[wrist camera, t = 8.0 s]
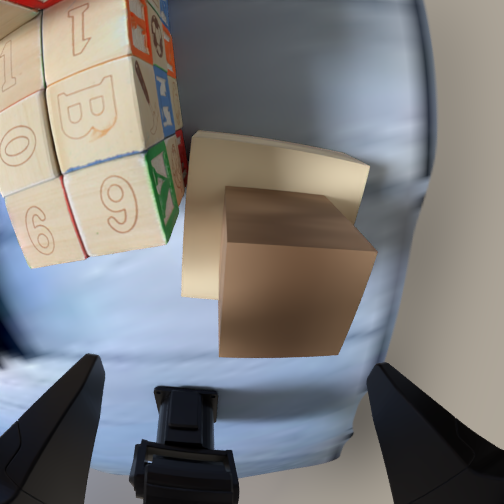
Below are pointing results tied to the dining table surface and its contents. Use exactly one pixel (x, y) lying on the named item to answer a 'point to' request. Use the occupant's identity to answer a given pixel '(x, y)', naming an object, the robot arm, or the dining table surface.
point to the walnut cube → (287, 274)
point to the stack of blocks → (89, 127)
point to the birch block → (253, 176)
